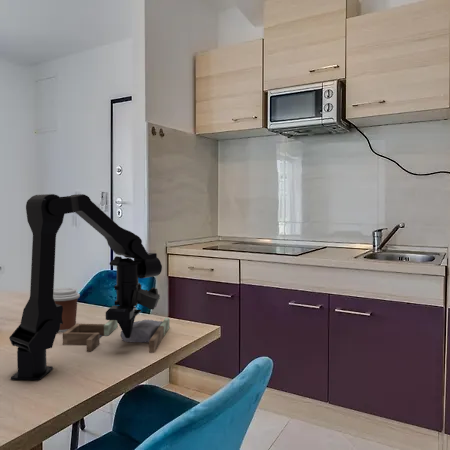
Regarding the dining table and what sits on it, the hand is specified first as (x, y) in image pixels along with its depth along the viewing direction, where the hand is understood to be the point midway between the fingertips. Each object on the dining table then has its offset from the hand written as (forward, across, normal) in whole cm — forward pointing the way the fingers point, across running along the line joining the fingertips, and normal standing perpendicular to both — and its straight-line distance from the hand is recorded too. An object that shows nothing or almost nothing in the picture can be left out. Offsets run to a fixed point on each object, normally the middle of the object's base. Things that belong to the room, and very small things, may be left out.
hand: (127, 337), depth 111 cm
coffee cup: (+2, +12, +23) cm, 26 cm away
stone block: (+2, +7, -2) cm, 7 cm away
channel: (+1, +4, +4) cm, 6 cm away
